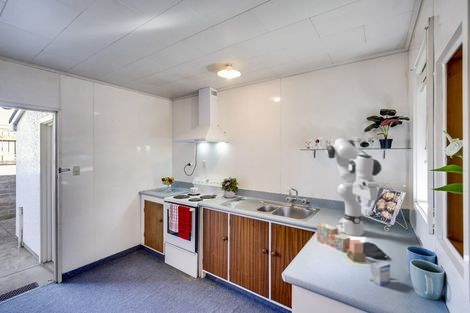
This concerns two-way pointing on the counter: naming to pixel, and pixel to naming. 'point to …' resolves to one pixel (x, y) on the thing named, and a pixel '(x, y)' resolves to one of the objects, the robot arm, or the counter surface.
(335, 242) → the stack of blocks
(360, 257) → the base brick
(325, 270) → the counter surface
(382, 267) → the medicine box
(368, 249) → the dark slate chunk
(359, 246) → the top brick
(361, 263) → the build plate
